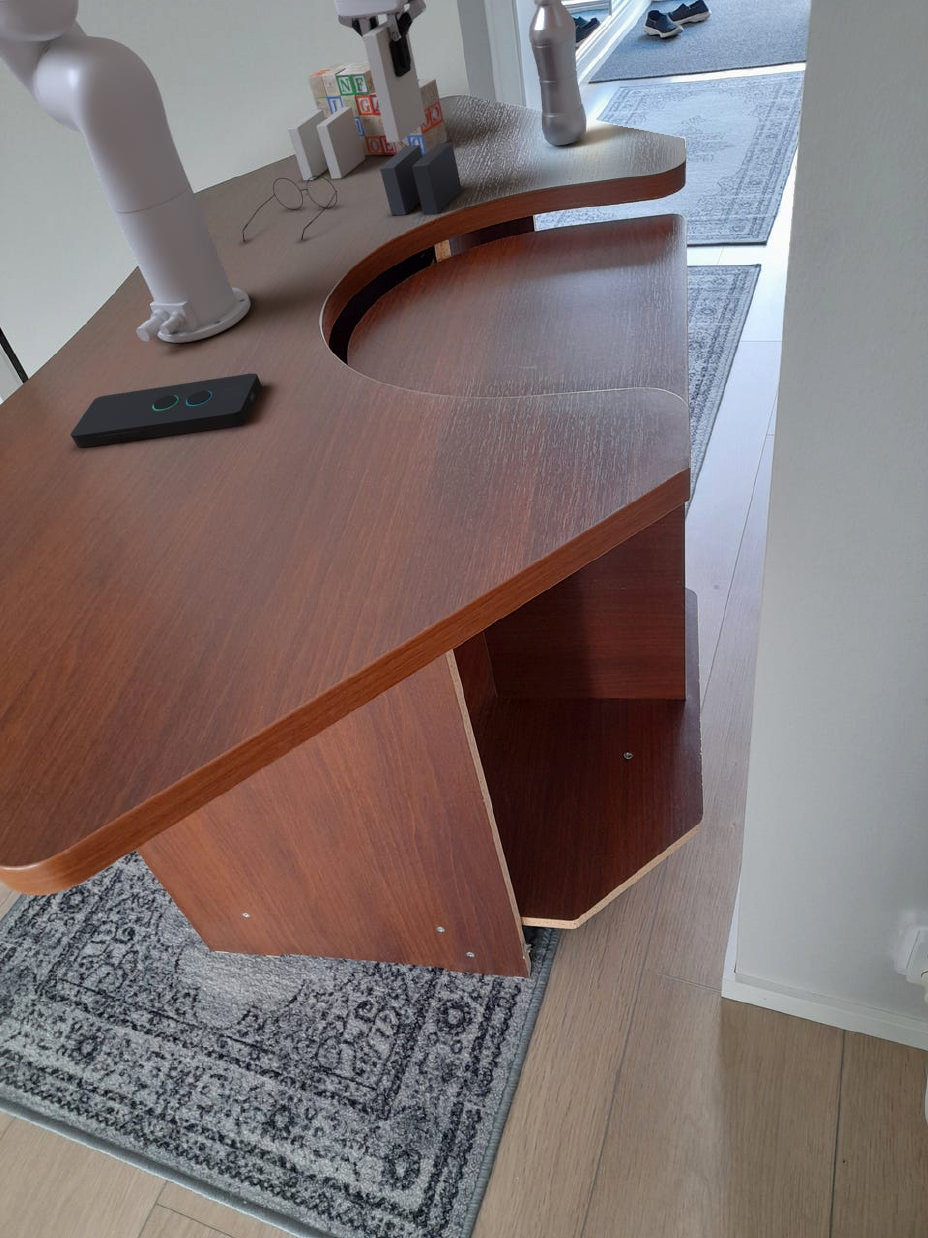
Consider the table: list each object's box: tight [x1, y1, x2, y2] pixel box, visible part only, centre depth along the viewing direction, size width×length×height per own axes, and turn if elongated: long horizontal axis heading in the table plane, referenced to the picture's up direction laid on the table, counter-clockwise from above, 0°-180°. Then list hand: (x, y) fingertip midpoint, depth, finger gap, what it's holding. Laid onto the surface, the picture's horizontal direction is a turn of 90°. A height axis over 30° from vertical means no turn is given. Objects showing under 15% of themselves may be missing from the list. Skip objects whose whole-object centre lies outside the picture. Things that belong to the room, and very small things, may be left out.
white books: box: [287, 107, 366, 181], centre depth 146 cm, size 8×8×8 cm
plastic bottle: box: [528, 0, 588, 146], centre depth 128 cm, size 6×7×20 cm
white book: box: [362, 20, 426, 143], centre depth 118 cm, size 8×2×12 cm, turn 155°
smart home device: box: [70, 373, 263, 449], centre depth 98 cm, size 8×2×20 cm
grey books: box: [379, 141, 463, 216], centre depth 127 cm, size 8×8×6 cm
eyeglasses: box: [242, 175, 338, 243], centre depth 132 cm, size 11×13×5 cm
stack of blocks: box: [307, 60, 448, 156], centre depth 147 cm, size 21×6×12 cm, turn 55°
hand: (394, 73), depth 117 cm, fingers closed on white book, 2 cm apart
